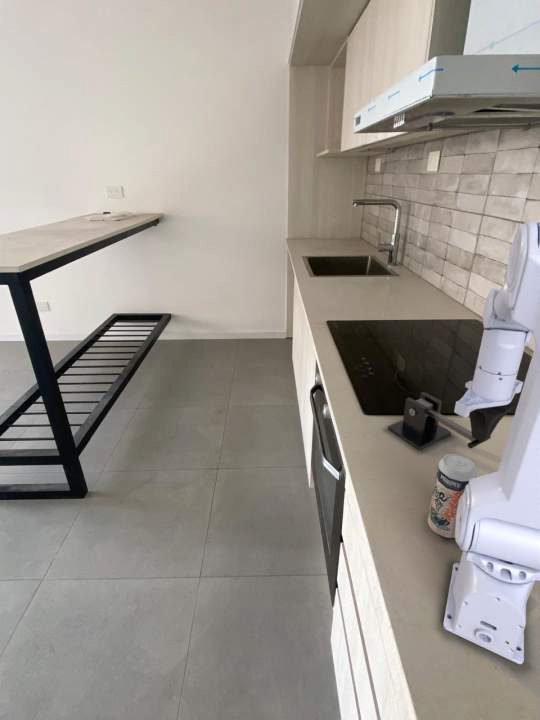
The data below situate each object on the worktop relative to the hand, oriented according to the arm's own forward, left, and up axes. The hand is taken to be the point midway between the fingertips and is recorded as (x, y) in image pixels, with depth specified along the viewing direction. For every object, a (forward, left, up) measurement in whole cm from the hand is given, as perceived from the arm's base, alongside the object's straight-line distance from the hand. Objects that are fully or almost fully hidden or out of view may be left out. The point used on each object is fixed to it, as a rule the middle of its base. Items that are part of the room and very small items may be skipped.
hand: (479, 438), depth 67 cm
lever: (+3, +6, -2) cm, 7 cm away
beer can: (-16, +2, -6) cm, 17 cm away
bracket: (+6, +10, -6) cm, 13 cm away
